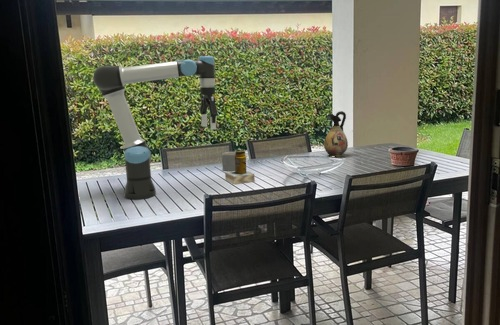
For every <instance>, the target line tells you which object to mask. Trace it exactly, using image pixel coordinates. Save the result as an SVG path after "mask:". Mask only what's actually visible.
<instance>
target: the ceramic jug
mask: <svg viewBox="0 0 500 325" xmlns="http://www.w3.org/2000/svg"><path fill="white" fill-rule="evenodd" d="M340 115H341V116H342V119H341V118H340ZM346 119H347V114H346V112H345V111H342V110H340V111H338V112H336V113H335V114H333V113H330V114H329V116H328V117H327V120H329V121H331V122H333V124H332V127H331V128H330V129H329V131H328V133H327V135H326V136H325V139H324V143H323V147H324V150H325V152H326V153H327V155H328V154H329V155H330V156H336V157H335V158H342V157H343V155H344V154H345V153H346V151H347V150H348V146H349V142H348V139H347V136H346V134H345V132H344V125H345V122H346ZM339 122H341V123H339ZM329 155H328V156H329ZM330 156H329V157H330Z"/></svg>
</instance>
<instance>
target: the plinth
mask: <svg viewBox="0 0 500 325" xmlns="http://www.w3.org/2000/svg"><path fill="white" fill-rule="evenodd" d="M224 172H225V174H224V175H225V177H224V179H225V181H227V182H229V183H231V184H232V185H238V184H245V183H252V182H253V183H254V182H255V173H253V172H250V171H249V170H247V169H246V172H249V173H247V174H240V175H234V174H231V173H230V172H231V171H230V172H228V171H224ZM232 172H235V171H232Z"/></svg>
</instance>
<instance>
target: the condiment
mask: <svg viewBox="0 0 500 325" xmlns="http://www.w3.org/2000/svg"><path fill="white" fill-rule="evenodd" d="M234 152H235V153H236V154H235V155H236V156H235V172H233V171H230V173H231V174H234V175H240V174H247V173H249V172H250V171H249V172H246V170H247V156H246V151H245V150H237V151H234Z"/></svg>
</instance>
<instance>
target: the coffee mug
mask: <svg viewBox="0 0 500 325" xmlns="http://www.w3.org/2000/svg"><path fill="white" fill-rule="evenodd" d="M235 152H236V151H225V152H222V154H221V160H222V161H221V165H222V171H223V172H233V171H235V156H236V155H235V154H236V153H235Z"/></svg>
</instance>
